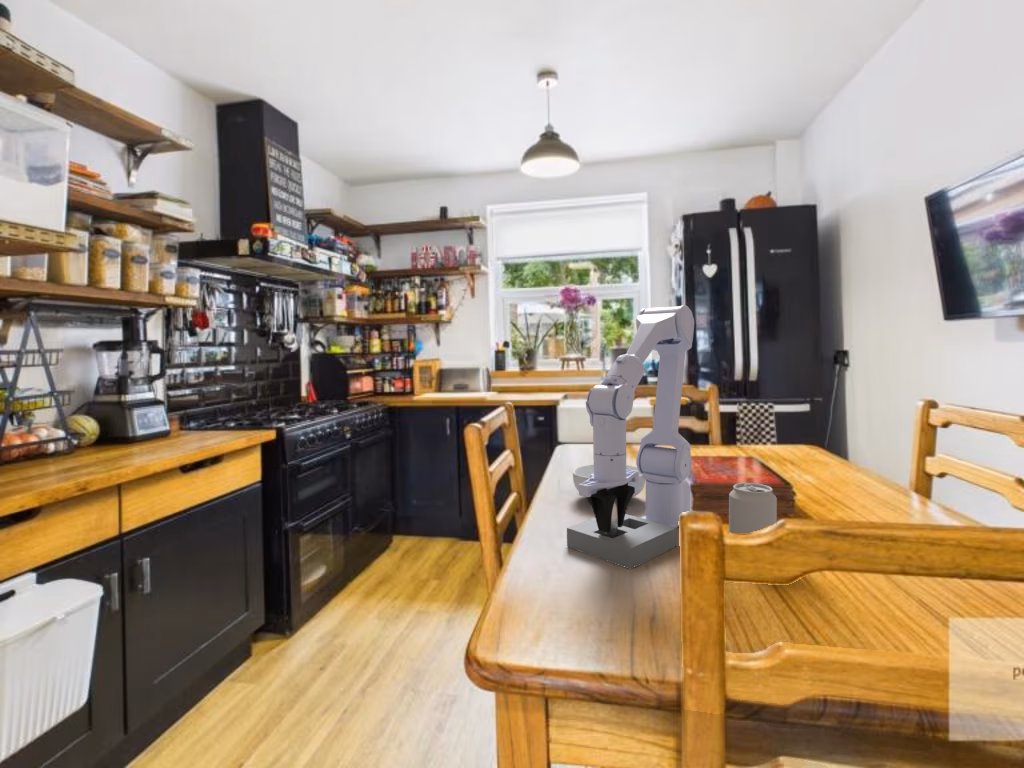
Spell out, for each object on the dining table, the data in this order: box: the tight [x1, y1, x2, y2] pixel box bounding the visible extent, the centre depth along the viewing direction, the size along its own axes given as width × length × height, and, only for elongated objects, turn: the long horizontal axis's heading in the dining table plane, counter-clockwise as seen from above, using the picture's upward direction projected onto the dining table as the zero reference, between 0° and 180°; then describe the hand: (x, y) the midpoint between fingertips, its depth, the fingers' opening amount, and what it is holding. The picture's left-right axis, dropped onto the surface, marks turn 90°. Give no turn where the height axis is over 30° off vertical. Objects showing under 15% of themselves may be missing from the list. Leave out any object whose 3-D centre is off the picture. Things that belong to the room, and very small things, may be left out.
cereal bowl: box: [572, 464, 646, 498], centre depth 127 cm, size 17×17×7 cm
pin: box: [601, 497, 618, 538], centre depth 95 cm, size 3×3×8 cm
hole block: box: [566, 513, 678, 569], centre depth 97 cm, size 14×14×4 cm
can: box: [728, 482, 778, 533], centre depth 92 cm, size 8×8×12 cm
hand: (610, 528), depth 95 cm, fingers closed on pin, 3 cm apart
